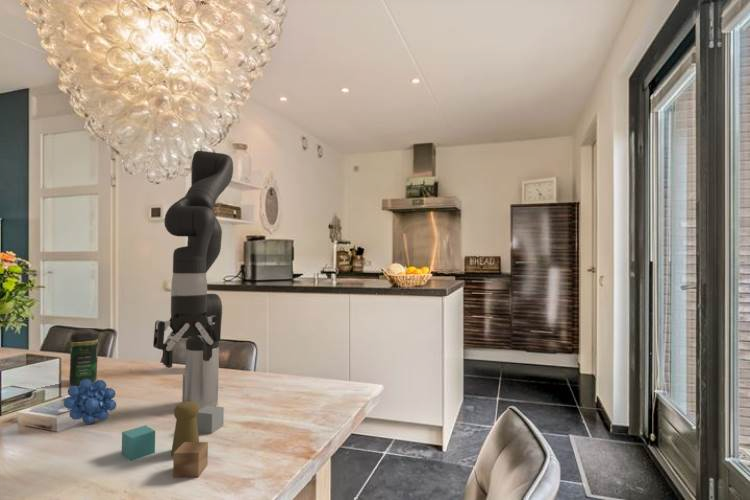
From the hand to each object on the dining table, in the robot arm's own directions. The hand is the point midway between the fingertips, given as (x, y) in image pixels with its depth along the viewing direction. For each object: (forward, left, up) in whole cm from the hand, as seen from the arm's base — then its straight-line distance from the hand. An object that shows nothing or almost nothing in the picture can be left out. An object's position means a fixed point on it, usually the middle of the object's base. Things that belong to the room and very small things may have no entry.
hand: (187, 363), depth 96 cm
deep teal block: (-9, -5, -20) cm, 23 cm away
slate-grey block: (-5, +12, -20) cm, 24 cm away
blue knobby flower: (-35, +1, -20) cm, 40 cm away
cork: (0, 0, -20) cm, 20 cm away
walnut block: (+8, -6, -20) cm, 22 cm away
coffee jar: (-75, +24, -20) cm, 81 cm away
